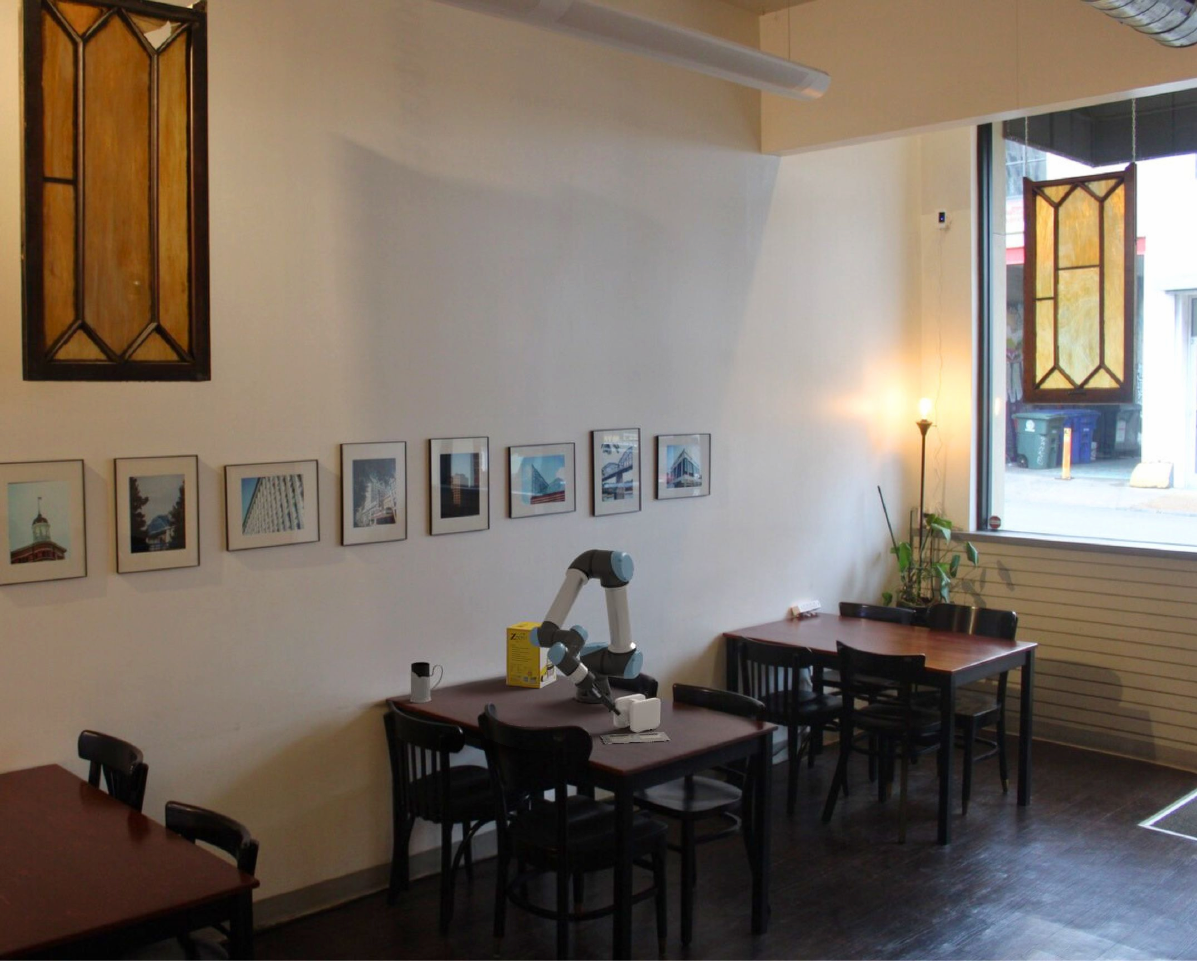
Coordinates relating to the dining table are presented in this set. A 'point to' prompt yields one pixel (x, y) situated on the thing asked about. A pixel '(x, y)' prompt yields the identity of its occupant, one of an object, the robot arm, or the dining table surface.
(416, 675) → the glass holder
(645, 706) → the cable organizer
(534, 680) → the packaging box
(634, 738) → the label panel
